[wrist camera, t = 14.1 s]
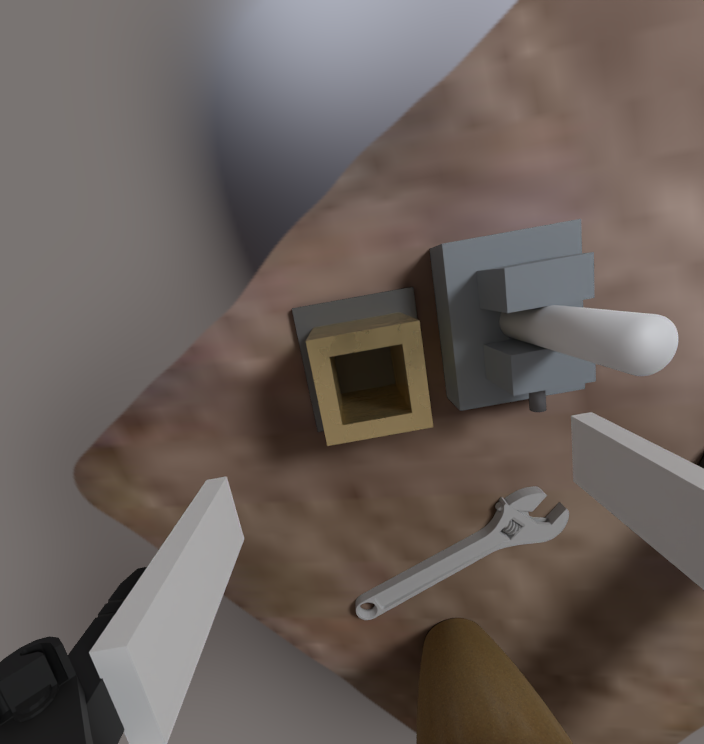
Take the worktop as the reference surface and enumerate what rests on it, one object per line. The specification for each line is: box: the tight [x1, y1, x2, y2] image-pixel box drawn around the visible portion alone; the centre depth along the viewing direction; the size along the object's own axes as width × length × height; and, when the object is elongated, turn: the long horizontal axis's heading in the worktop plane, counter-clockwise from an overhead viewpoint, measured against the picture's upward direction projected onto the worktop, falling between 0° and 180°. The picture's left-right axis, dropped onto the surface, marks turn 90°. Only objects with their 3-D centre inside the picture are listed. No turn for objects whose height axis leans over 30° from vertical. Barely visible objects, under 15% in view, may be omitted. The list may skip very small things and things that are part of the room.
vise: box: [430, 219, 678, 412], centre depth 26 cm, size 14×11×17 cm
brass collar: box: [306, 312, 433, 446], centre depth 30 cm, size 8×8×8 cm
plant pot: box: [417, 618, 573, 744], centre depth 35 cm, size 15×15×16 cm
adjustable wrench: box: [356, 486, 569, 620], centre depth 39 cm, size 25×6×2 cm, turn 118°
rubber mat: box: [292, 287, 417, 432], centre depth 34 cm, size 12×11×1 cm
